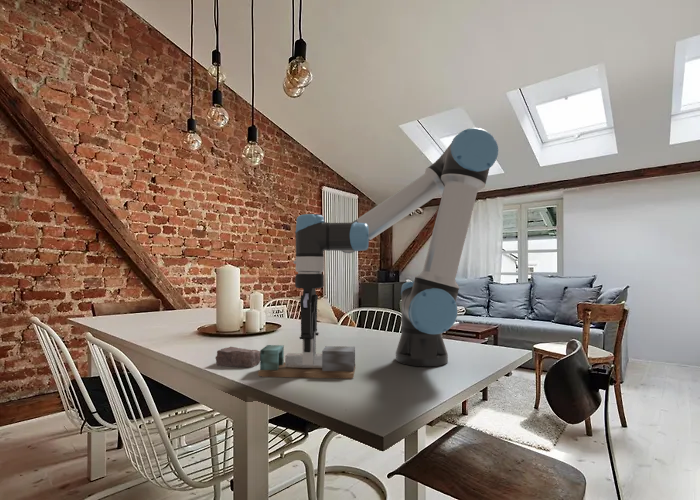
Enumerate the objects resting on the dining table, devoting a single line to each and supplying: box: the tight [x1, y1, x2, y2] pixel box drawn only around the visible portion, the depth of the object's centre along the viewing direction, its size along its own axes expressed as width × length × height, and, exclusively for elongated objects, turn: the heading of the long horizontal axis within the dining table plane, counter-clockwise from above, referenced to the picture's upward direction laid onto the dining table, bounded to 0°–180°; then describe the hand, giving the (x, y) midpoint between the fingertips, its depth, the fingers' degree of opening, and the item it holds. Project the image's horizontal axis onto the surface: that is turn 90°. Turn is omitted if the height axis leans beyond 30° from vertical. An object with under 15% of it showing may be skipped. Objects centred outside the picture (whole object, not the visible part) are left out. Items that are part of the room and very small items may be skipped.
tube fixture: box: [257, 344, 356, 379], centre depth 103 cm, size 24×10×6 cm, turn 86°
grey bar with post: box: [284, 331, 322, 368], centre depth 103 cm, size 16×3×9 cm, turn 86°
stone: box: [215, 346, 260, 368], centre depth 112 cm, size 9×12×5 cm
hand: (309, 362), depth 103 cm, fingers closed on grey bar with post, 3 cm apart
